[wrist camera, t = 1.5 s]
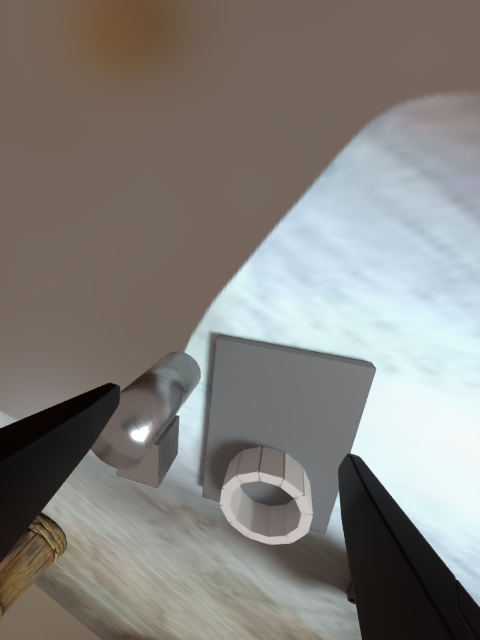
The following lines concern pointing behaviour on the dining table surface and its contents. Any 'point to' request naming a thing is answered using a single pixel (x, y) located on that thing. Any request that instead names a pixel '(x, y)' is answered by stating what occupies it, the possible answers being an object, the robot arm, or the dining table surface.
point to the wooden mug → (29, 559)
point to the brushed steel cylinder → (149, 421)
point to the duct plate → (280, 435)
